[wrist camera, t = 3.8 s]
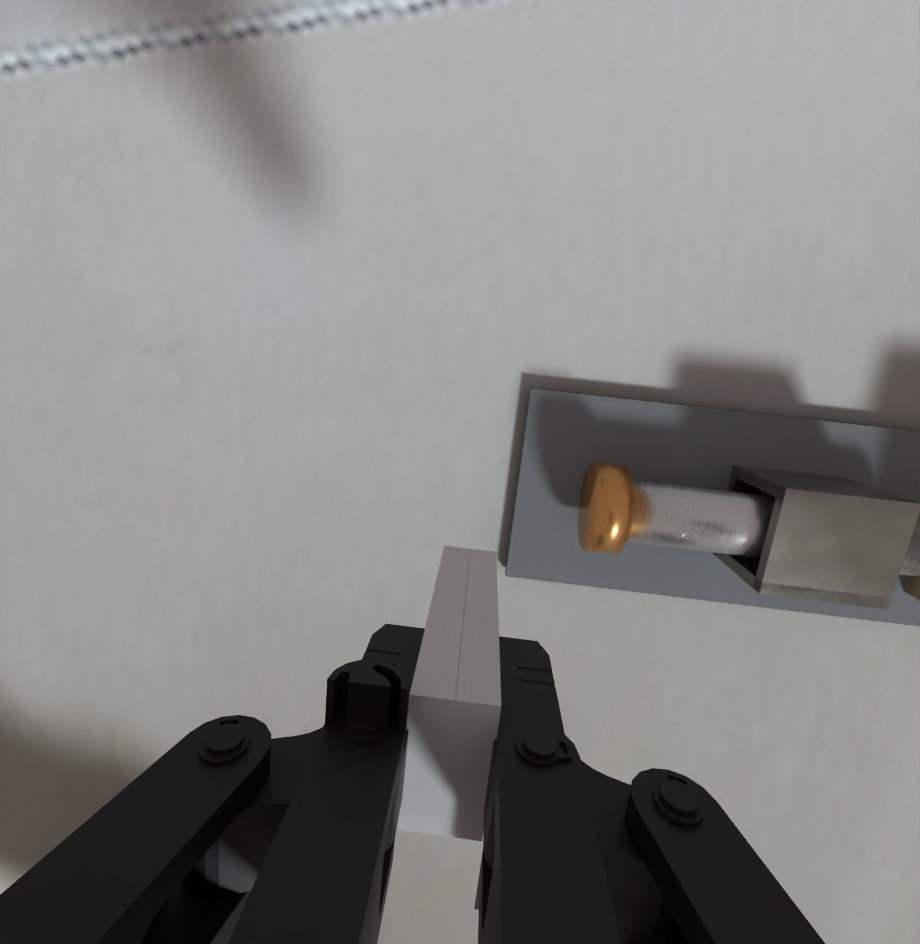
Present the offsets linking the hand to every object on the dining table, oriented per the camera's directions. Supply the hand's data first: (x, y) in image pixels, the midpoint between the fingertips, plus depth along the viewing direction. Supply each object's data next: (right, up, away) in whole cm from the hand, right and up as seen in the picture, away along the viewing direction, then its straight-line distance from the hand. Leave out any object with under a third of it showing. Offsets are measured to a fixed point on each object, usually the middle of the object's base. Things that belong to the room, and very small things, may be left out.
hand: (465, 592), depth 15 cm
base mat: (+17, +1, +14) cm, 22 cm away
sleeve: (+18, +1, +14) cm, 23 cm away
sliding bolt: (+15, +1, +13) cm, 20 cm away
